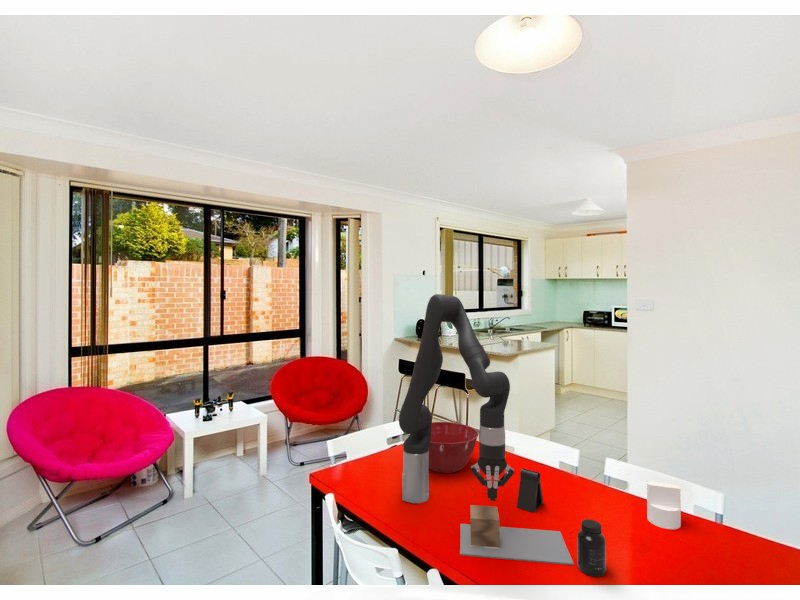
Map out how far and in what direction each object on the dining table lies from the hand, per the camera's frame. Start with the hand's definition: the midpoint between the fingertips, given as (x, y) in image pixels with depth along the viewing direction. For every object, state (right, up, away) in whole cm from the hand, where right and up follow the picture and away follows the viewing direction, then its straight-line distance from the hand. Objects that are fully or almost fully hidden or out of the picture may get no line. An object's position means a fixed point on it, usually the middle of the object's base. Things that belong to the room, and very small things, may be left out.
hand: (492, 499), depth 123 cm
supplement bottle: (+23, -12, -13) cm, 29 cm away
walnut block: (-2, -12, 0) cm, 12 cm away
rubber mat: (+6, -12, -1) cm, 14 cm away
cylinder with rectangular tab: (+57, -13, +11) cm, 59 cm away
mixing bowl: (-8, -13, +56) cm, 58 cm away
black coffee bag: (+18, -13, +22) cm, 31 cm away
